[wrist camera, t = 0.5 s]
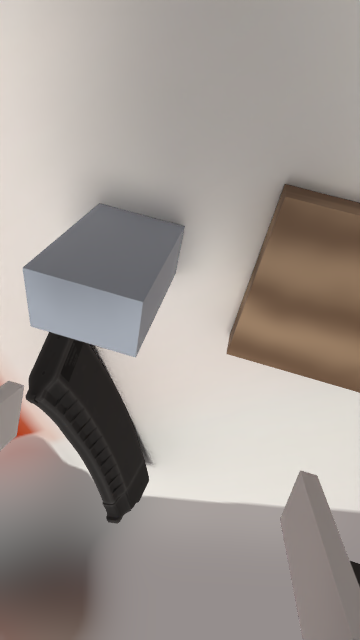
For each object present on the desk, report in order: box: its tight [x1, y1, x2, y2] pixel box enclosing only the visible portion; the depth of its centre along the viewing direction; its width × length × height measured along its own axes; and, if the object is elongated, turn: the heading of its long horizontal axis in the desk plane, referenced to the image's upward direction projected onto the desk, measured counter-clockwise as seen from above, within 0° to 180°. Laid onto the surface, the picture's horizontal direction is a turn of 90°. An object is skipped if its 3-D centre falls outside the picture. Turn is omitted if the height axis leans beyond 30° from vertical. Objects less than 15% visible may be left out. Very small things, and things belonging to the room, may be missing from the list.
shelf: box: [227, 184, 360, 392], centre depth 26 cm, size 16×16×13 cm
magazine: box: [26, 332, 149, 523], centre depth 45 cm, size 17×3×30 cm
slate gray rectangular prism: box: [23, 203, 185, 357], centre depth 28 cm, size 5×8×12 cm, turn 80°
